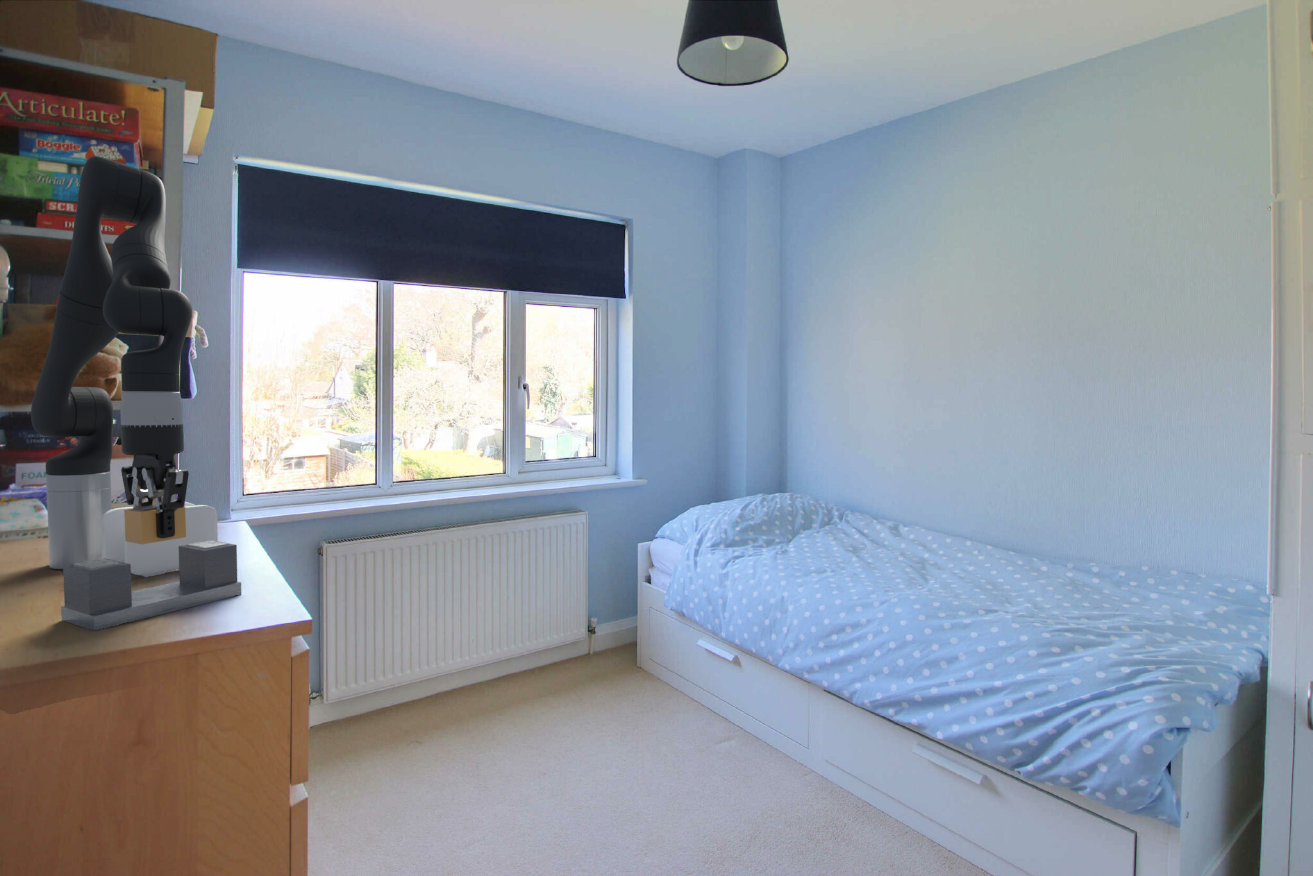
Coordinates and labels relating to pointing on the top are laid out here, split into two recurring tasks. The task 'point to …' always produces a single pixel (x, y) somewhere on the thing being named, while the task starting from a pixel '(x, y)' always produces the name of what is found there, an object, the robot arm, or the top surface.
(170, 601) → the rail plate
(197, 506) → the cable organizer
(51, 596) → the top surface
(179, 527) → the orange module
